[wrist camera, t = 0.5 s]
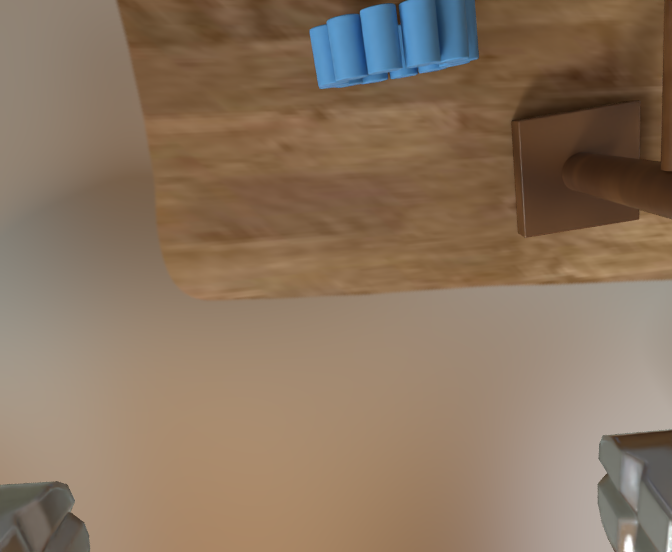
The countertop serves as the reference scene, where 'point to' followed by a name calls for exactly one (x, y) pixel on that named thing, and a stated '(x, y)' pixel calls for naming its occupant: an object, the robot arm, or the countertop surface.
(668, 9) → the tape stand
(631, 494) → the robot arm
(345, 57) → the blue cylinder bundle
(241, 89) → the countertop surface
